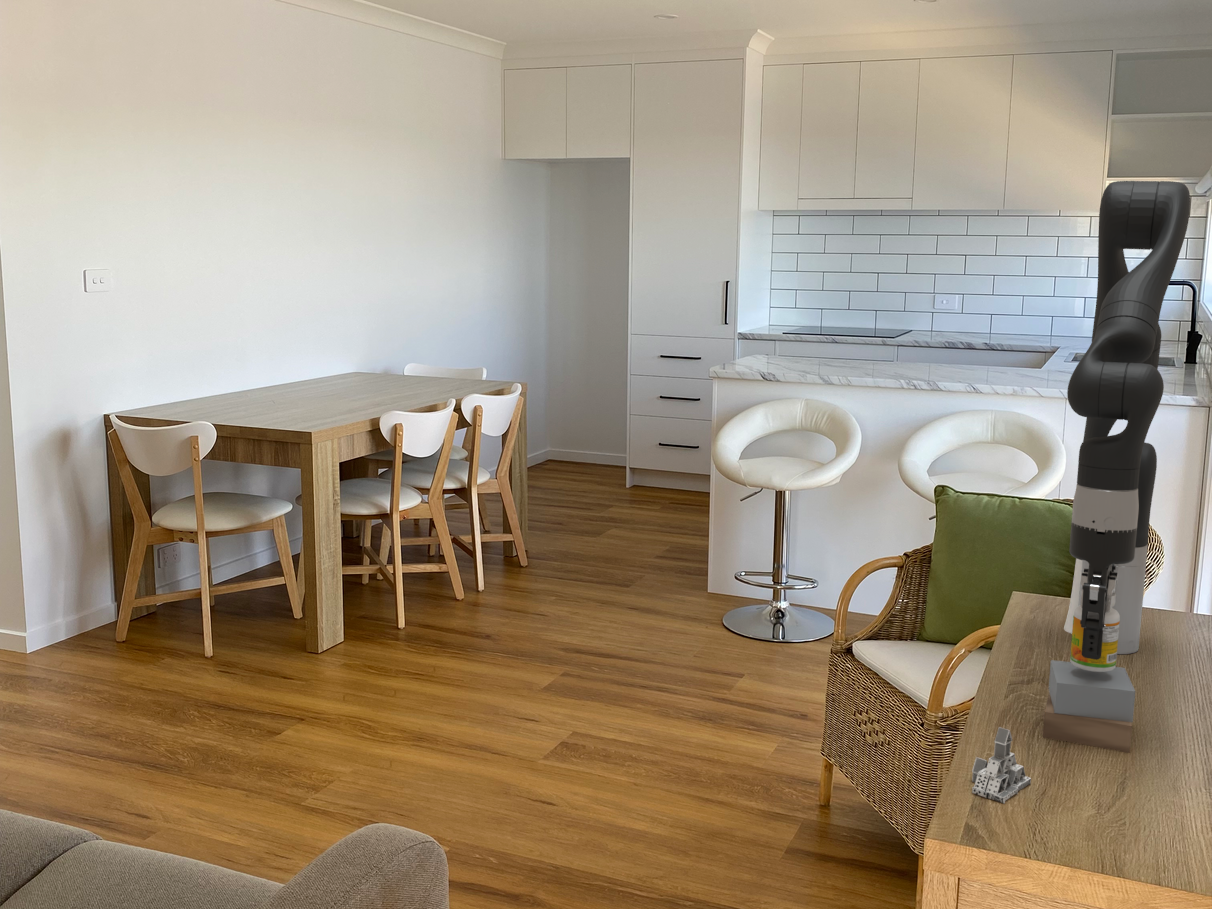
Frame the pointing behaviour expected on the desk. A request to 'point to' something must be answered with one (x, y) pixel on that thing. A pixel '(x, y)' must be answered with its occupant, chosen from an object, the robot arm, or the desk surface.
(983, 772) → the house of cards
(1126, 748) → the base block
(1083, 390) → the robot arm
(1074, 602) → the cosmetic bottle
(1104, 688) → the top block
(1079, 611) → the supplement bottle
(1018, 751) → the desk surface
